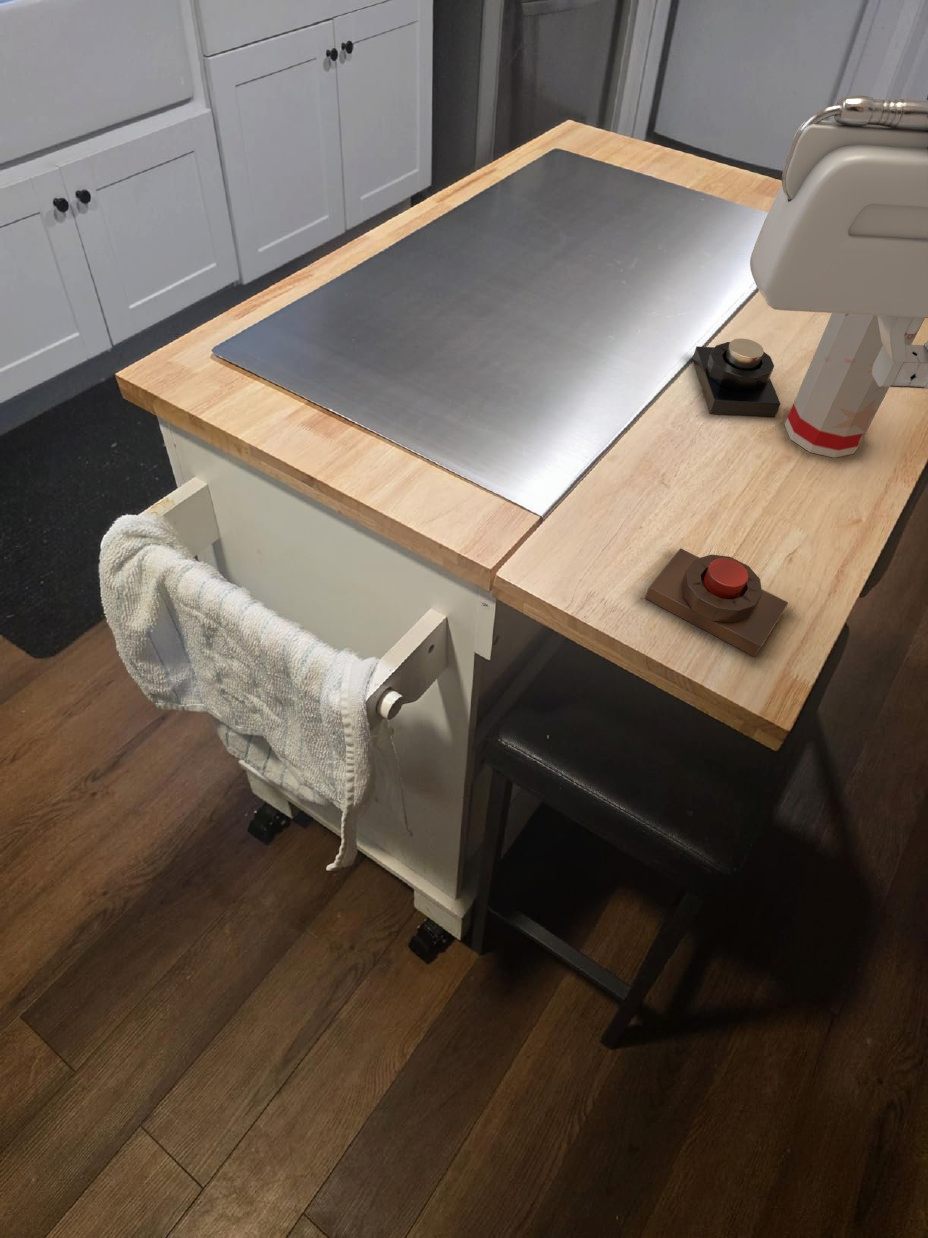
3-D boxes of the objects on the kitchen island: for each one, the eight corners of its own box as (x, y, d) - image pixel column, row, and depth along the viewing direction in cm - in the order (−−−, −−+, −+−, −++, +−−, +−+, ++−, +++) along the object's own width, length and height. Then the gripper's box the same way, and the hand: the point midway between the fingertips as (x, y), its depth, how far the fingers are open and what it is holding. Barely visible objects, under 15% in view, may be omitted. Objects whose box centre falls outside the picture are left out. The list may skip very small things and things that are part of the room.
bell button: (748, 582, 72) (754, 569, 70) (732, 605, 70) (738, 592, 69) (713, 564, 73) (718, 551, 72) (696, 587, 71) (702, 573, 70)
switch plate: (753, 362, 98) (763, 334, 95) (775, 417, 91) (786, 388, 89) (692, 359, 97) (700, 331, 95) (709, 413, 91) (719, 385, 88)
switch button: (753, 353, 93) (759, 339, 92) (762, 373, 91) (767, 358, 90) (721, 351, 93) (726, 337, 92) (728, 371, 91) (733, 356, 89)
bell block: (782, 612, 73) (795, 588, 71) (754, 657, 70) (766, 633, 68) (676, 558, 77) (685, 534, 74) (644, 598, 73) (652, 574, 71)
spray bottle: (801, 401, 94) (907, 157, 75) (868, 429, 91) (996, 183, 72) (775, 437, 89) (880, 186, 70) (845, 467, 87) (974, 215, 68)
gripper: (830, 120, 35) (728, 407, 46) (1307, 153, 36) (1101, 425, 47) (790, 66, 39) (704, 340, 50) (1220, 97, 40) (1048, 358, 51)
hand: (900, 381), depth 48 cm, fingers closed
